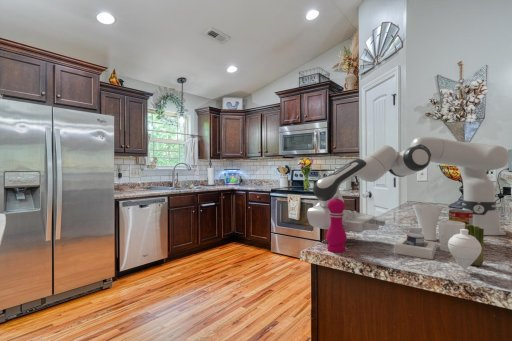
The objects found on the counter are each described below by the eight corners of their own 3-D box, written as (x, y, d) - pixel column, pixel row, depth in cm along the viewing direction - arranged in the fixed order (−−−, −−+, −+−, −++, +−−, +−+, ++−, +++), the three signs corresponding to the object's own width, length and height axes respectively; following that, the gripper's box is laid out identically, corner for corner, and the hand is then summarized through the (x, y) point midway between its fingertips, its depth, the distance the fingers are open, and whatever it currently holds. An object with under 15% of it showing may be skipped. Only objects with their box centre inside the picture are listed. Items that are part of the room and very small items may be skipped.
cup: (448, 240, 115) (448, 207, 114) (429, 243, 111) (429, 208, 111) (425, 234, 124) (425, 203, 124) (407, 236, 121) (407, 205, 121)
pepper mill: (348, 253, 98) (347, 195, 98) (326, 252, 99) (326, 195, 99) (345, 247, 105) (345, 193, 105) (325, 246, 106) (325, 193, 106)
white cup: (457, 255, 96) (457, 225, 96) (433, 249, 103) (433, 221, 103) (470, 251, 100) (470, 223, 99) (446, 246, 107) (446, 219, 106)
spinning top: (452, 274, 78) (452, 231, 78) (444, 265, 85) (444, 225, 85) (486, 278, 76) (486, 233, 75) (475, 268, 83) (475, 227, 83)
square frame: (400, 245, 107) (400, 237, 107) (435, 251, 100) (435, 242, 100) (394, 253, 98) (394, 244, 98) (432, 259, 91) (432, 249, 91)
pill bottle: (403, 250, 102) (403, 225, 102) (417, 249, 102) (417, 225, 102) (413, 254, 97) (413, 228, 96) (427, 254, 97) (427, 228, 97)
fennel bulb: (486, 268, 83) (486, 227, 83) (466, 266, 85) (466, 226, 85) (480, 262, 88) (480, 223, 88) (461, 260, 90) (461, 222, 90)
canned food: (449, 236, 121) (449, 208, 120) (472, 239, 116) (472, 210, 116) (448, 240, 114) (448, 211, 114) (473, 243, 110) (473, 212, 109)
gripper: (335, 216, 106) (374, 221, 97) (353, 210, 122) (388, 213, 114) (335, 233, 106) (374, 239, 97) (353, 224, 122) (388, 229, 114)
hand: (382, 225), depth 106 cm, fingers open, 8 cm apart
